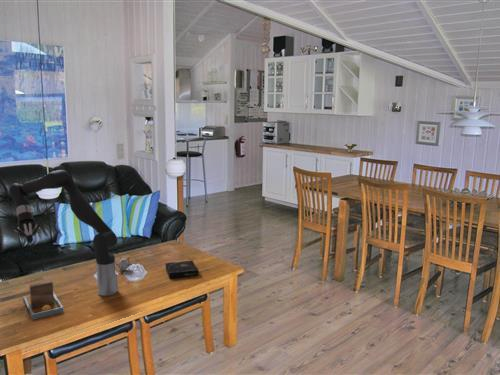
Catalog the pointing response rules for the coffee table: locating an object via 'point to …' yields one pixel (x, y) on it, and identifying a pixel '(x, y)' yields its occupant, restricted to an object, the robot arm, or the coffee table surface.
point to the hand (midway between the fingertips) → (30, 242)
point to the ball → (46, 308)
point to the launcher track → (29, 305)
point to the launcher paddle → (41, 294)
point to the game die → (124, 263)
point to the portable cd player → (181, 269)
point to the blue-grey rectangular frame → (46, 313)
